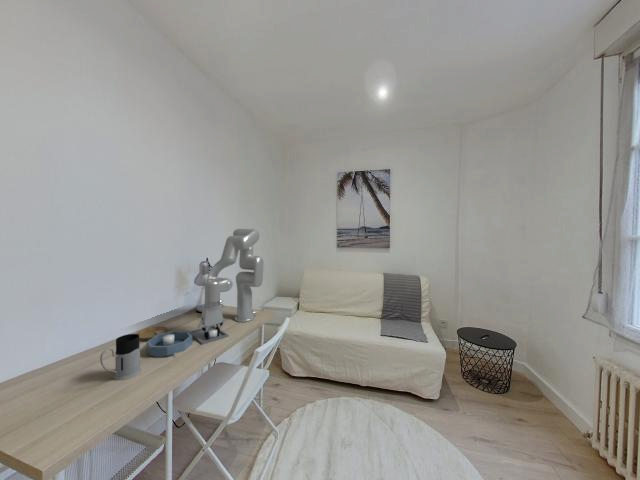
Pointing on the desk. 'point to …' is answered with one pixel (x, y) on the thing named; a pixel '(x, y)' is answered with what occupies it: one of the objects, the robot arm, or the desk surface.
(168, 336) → the pebble
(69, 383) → the desk surface
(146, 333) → the plant saucer
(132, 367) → the glass holder
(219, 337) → the tray
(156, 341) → the bowl
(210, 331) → the pebble
